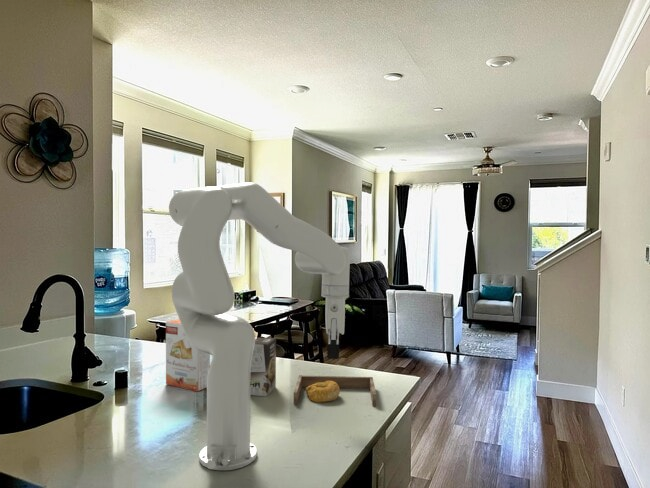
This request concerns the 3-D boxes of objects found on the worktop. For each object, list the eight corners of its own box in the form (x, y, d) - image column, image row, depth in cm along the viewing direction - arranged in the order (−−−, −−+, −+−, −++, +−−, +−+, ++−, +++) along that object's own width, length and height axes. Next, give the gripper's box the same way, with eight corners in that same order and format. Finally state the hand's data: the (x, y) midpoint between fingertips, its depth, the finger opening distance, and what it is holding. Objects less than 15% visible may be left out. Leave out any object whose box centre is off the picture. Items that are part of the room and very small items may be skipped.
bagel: (320, 389, 149) (320, 374, 149) (346, 398, 142) (346, 382, 141) (298, 397, 142) (298, 381, 142) (324, 407, 134) (324, 391, 134)
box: (376, 406, 134) (376, 394, 134) (293, 404, 135) (293, 392, 135) (372, 387, 150) (372, 377, 150) (298, 386, 151) (298, 375, 151)
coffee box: (267, 396, 141) (267, 344, 141) (247, 395, 142) (247, 343, 142) (276, 387, 150) (276, 337, 150) (257, 385, 151) (257, 336, 151)
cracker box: (164, 385, 151) (164, 321, 150) (178, 380, 156) (178, 318, 156) (197, 392, 144) (197, 325, 144) (210, 386, 150) (210, 322, 149)
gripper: (349, 294, 120) (346, 365, 120) (348, 289, 135) (346, 352, 135) (320, 293, 120) (317, 364, 120) (322, 288, 135) (320, 351, 135)
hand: (333, 357), depth 127 cm, fingers closed
